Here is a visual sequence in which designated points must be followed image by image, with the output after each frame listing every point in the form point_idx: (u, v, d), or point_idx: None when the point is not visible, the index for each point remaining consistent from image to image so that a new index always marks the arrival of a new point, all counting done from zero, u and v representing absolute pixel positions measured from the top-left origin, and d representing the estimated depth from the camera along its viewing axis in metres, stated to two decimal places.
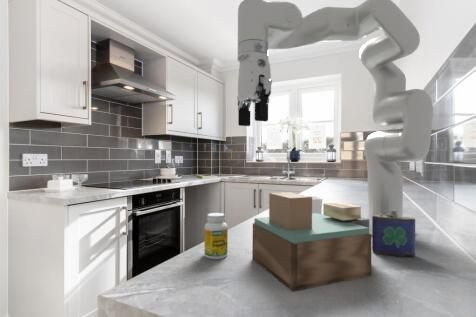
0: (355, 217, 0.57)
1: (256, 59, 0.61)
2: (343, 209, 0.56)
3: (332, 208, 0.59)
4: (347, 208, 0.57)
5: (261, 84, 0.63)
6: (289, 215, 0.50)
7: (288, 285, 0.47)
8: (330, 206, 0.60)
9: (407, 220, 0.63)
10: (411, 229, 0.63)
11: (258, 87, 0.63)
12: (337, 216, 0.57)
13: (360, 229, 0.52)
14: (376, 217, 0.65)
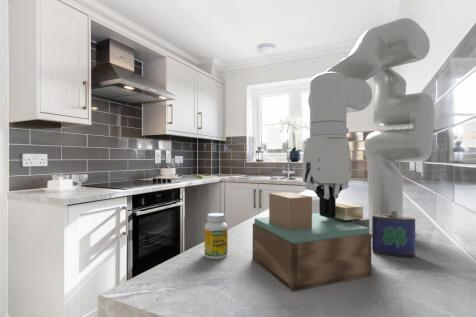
0: (357, 217, 0.58)
1: None
2: (345, 209, 0.56)
3: None
4: (349, 208, 0.57)
5: None
6: (289, 215, 0.50)
7: (288, 285, 0.47)
8: None
9: (407, 220, 0.63)
10: (411, 229, 0.63)
11: None
12: (339, 216, 0.58)
13: (360, 229, 0.52)
14: (376, 217, 0.65)
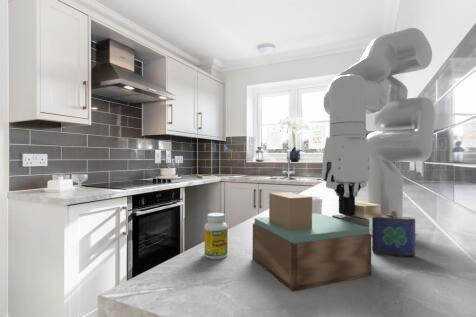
0: (375, 215, 0.60)
1: None
2: (364, 207, 0.58)
3: None
4: (368, 206, 0.59)
5: None
6: (289, 215, 0.50)
7: (288, 285, 0.47)
8: None
9: (407, 220, 0.63)
10: (411, 229, 0.63)
11: None
12: (358, 214, 0.60)
13: (360, 229, 0.52)
14: (376, 217, 0.65)
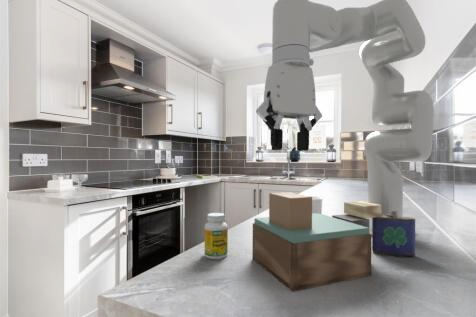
0: (376, 215, 0.60)
1: None
2: (365, 207, 0.58)
3: (353, 206, 0.61)
4: (368, 206, 0.59)
5: None
6: (289, 215, 0.50)
7: (288, 285, 0.47)
8: (351, 204, 0.62)
9: (407, 220, 0.63)
10: (411, 229, 0.63)
11: None
12: (359, 214, 0.60)
13: (360, 229, 0.52)
14: (376, 217, 0.65)
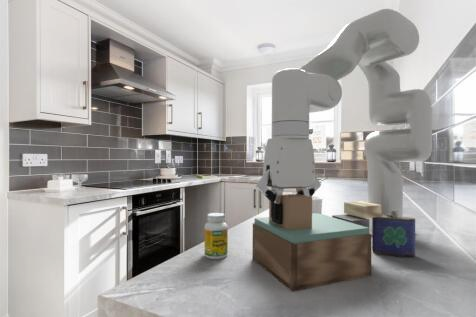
0: (376, 215, 0.60)
1: None
2: (365, 207, 0.58)
3: (353, 206, 0.61)
4: (368, 206, 0.59)
5: None
6: (289, 215, 0.50)
7: (288, 285, 0.47)
8: (351, 204, 0.62)
9: (407, 220, 0.63)
10: (411, 229, 0.63)
11: None
12: (359, 214, 0.60)
13: (360, 229, 0.52)
14: (376, 217, 0.65)
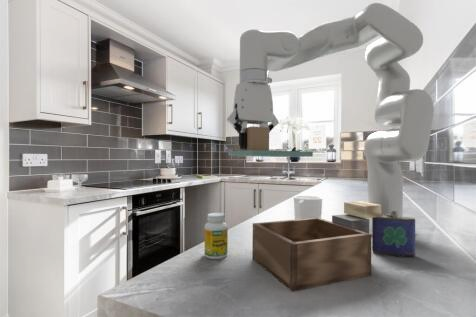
0: (376, 215, 0.60)
1: None
2: (365, 207, 0.58)
3: (353, 206, 0.61)
4: (368, 206, 0.59)
5: None
6: (250, 139, 0.67)
7: (288, 285, 0.47)
8: (351, 204, 0.62)
9: (407, 220, 0.63)
10: (411, 229, 0.63)
11: None
12: (359, 214, 0.60)
13: (305, 152, 0.68)
14: (376, 217, 0.65)
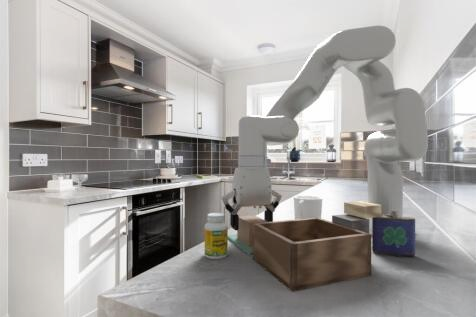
0: (376, 215, 0.60)
1: (269, 174, 0.72)
2: (365, 207, 0.58)
3: (353, 206, 0.61)
4: (368, 206, 0.59)
5: None
6: (248, 235, 0.67)
7: (288, 285, 0.47)
8: (351, 204, 0.62)
9: (407, 220, 0.63)
10: (411, 229, 0.63)
11: None
12: (359, 214, 0.60)
13: None
14: (376, 217, 0.65)
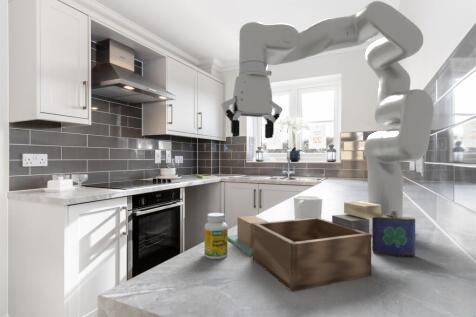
0: (376, 215, 0.60)
1: None
2: (365, 207, 0.58)
3: (353, 206, 0.61)
4: (368, 206, 0.59)
5: None
6: (250, 236, 0.66)
7: (288, 285, 0.47)
8: (351, 204, 0.62)
9: (407, 220, 0.63)
10: (411, 229, 0.63)
11: None
12: (359, 214, 0.60)
13: None
14: (376, 217, 0.65)
